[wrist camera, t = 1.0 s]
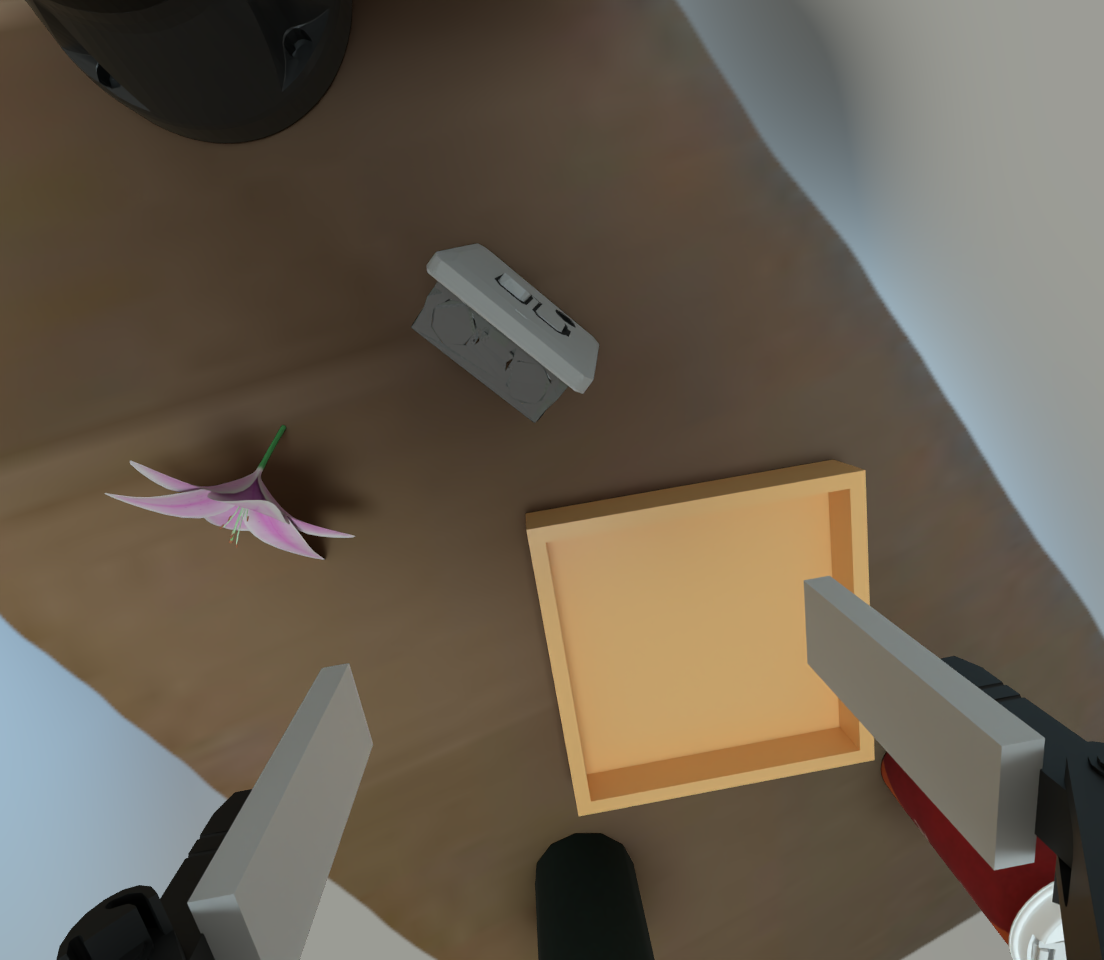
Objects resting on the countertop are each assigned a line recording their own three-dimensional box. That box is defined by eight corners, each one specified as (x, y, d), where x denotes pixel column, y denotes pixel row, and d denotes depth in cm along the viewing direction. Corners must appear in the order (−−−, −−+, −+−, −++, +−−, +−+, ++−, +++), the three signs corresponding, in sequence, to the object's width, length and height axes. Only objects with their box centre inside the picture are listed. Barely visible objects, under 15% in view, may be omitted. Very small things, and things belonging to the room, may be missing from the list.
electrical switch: (600, 342, 34) (617, 354, 26) (549, 407, 36) (548, 439, 27) (479, 242, 33) (453, 216, 24) (429, 313, 34) (387, 314, 25)
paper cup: (865, 810, 44) (1023, 1016, 30) (869, 726, 42) (1038, 905, 28) (960, 797, 44) (1158, 996, 30) (967, 714, 42) (1182, 884, 29)
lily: (148, 446, 35) (50, 566, 28) (221, 319, 29) (123, 429, 22) (322, 531, 41) (278, 648, 34) (412, 439, 35) (381, 556, 28)
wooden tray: (525, 513, 37) (526, 529, 33) (833, 459, 37) (865, 470, 34) (573, 778, 41) (578, 816, 38) (845, 726, 42) (874, 759, 38)
